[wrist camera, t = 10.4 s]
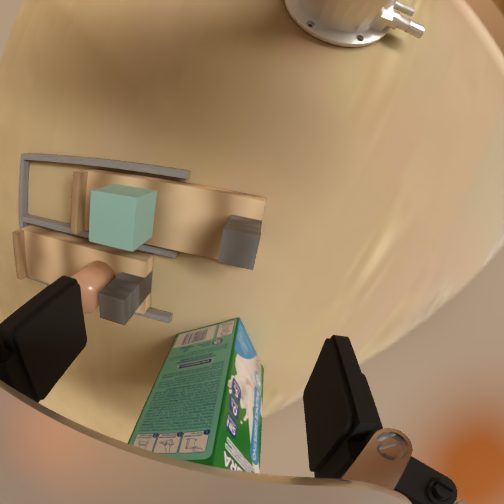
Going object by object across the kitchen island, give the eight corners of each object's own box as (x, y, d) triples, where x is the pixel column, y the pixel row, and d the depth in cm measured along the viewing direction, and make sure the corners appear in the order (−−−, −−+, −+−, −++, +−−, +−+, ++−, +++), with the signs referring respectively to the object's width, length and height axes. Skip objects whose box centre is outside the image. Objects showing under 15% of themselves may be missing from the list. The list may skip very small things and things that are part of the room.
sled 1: (153, 254, 33) (124, 282, 25) (150, 304, 35) (125, 340, 28) (30, 224, 33) (-7, 240, 25) (33, 268, 35) (0, 289, 27)
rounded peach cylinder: (116, 264, 31) (95, 282, 26) (116, 297, 32) (97, 317, 28) (86, 256, 31) (63, 272, 26) (87, 288, 32) (66, 307, 28)
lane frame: (190, 170, 30) (187, 171, 29) (172, 318, 36) (169, 323, 35) (26, 153, 29) (21, 153, 28) (28, 272, 35) (23, 275, 34)
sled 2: (266, 198, 30) (265, 212, 23) (252, 258, 32) (248, 290, 25) (92, 169, 30) (51, 175, 22) (88, 223, 32) (49, 242, 25)
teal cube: (157, 190, 28) (137, 197, 23) (152, 236, 30) (132, 251, 25) (116, 183, 28) (91, 190, 23) (112, 228, 30) (88, 241, 25)
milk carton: (264, 368, 38) (256, 543, 14) (205, 381, 39) (165, 537, 15) (239, 316, 35) (205, 516, 11) (176, 333, 37) (102, 501, 13)
